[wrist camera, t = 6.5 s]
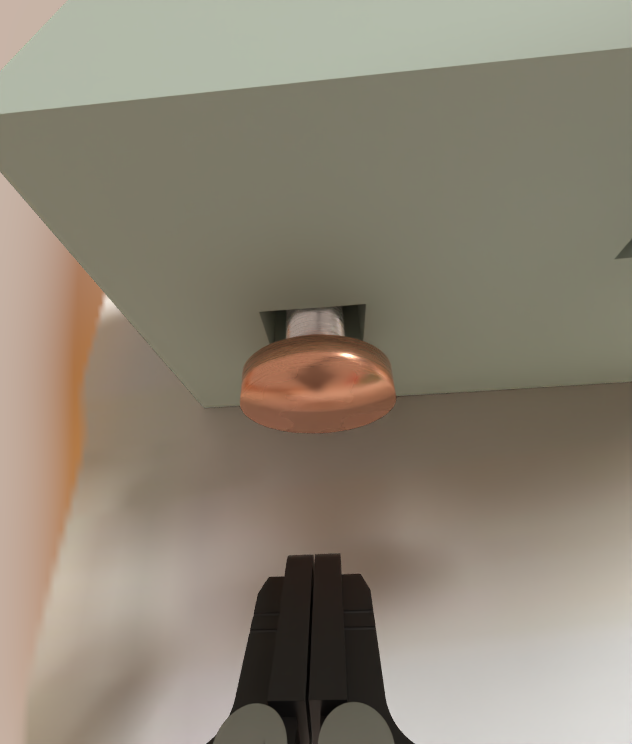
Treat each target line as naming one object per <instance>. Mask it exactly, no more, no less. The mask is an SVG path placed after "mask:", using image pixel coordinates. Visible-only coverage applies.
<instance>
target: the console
mask: <svg viewBox="0 0 632 744" xmlns="http://www.w3.org/2000/svg"><path fill="white" fill-rule="evenodd" d="M0 172H1V173H2V174H3V175H4V177H5V178H6V179H7V180H8V181H9V182H10V184H11V185H12V186H13V187H14V188H15V189H16V191H17V192H18V193H19V194H20V195H21V196H22V198H23V199H24V200H25V201H26V202H27V203H28V204H29V206H30V207H31V208H32V209H33V210H34V212H35V213H36V214H37V215H38V216H39V217H40V218H41V220H42V221H43V222H44V223H45V224H46V225H47V226H48V228H49V229H50V230H51V231H52V232H53V234H54V235H55V236H56V237H57V238H58V239H59V241H60V242H61V243H62V244H63V245H64V246H65V247H66V249H67V250H68V251H69V252H70V253H71V254H72V255H73V257H74V258H75V259H76V260H77V261H78V262H79V264H80V265H81V266H82V267H83V268H84V270H85V271H86V272H87V273H88V274H89V275H90V276H91V278H92V279H93V280H94V281H95V282H96V283H97V285H98V286H99V287H100V288H101V289H102V290H103V292H104V293H105V294H106V295H107V296H108V297H109V299H110V300H111V301H112V302H113V303H114V304H115V306H116V307H117V308H118V309H119V310H120V311H121V312H122V314H123V315H124V316H125V317H126V318H127V319H128V321H129V322H130V323H131V324H132V325H133V326H134V328H135V329H136V330H137V331H138V332H139V333H140V335H141V336H142V337H143V338H144V339H145V340H146V341H147V343H148V344H149V345H150V346H151V347H152V348H153V350H154V351H155V352H156V353H157V354H158V355H159V357H160V358H161V359H162V360H163V361H164V362H165V364H166V365H167V366H168V367H169V368H170V369H171V371H172V372H173V373H174V374H175V375H176V376H177V377H178V379H179V380H180V381H181V382H182V383H183V384H184V386H185V387H186V388H187V389H188V390H189V391H190V393H191V394H192V395H193V396H194V397H195V398H196V400H197V401H198V402H199V403H200V404H201V405H202V406H203V408H213V407H229V406H240V395H241V383H242V372H243V367H244V365H245V363H246V361H247V360H248V359H249V358H250V357H251V356H252V355H253V354H254V353H255V352H257V351H258V350H259V349H261V348H263V347H265V346H267V345H269V344H271V343H274V342H277V341H280V340H283V339H286V310H291V309H305V308H318V307H332V306H342V309H343V320H344V331H345V336H346V337H351V338H355V339H358V340H362V341H365V342H367V343H369V344H371V345H373V346H375V347H377V348H378V349H380V350H381V351H382V352H383V353H384V354H385V355H386V356H387V357H388V359H389V361H390V363H391V369H392V375H393V381H394V387H395V393H396V396H408V395H424V394H440V393H456V392H473V391H489V390H505V389H521V388H538V387H554V386H570V385H586V384H603V383H619V382H632V0H68V1H67V2H66V3H65V4H64V5H63V6H62V7H61V8H60V9H59V10H58V11H57V12H56V13H55V14H54V15H53V16H52V18H50V19H49V20H48V22H47V23H46V24H45V25H44V26H43V27H42V28H41V29H40V30H39V31H38V32H37V33H36V34H35V35H34V36H33V37H32V38H31V39H30V40H29V42H28V43H26V45H25V46H24V47H23V48H22V49H21V50H20V51H19V52H18V53H17V54H16V55H15V56H14V57H13V58H12V59H11V60H10V62H8V63H7V65H5V67H4V68H3V69H2V70H1V71H0Z"/></svg>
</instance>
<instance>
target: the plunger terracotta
mask: <svg viewBox="0 0 632 744" xmlns="http://www.w3.org/2000/svg"><path fill="white" fill-rule="evenodd" d="M395 402H396V393H395V387H394V381H393V375H392V369H391V363H390V361H389V359H388V357H387V356H386V355H385V354H384V353H383V352H382V351H381V350H380V349H378V348H377V347H375V346H373V345H371V344H369V343H367V342H365V341H362V340H358V339H355V338H351V337H346V336H345V331H344V320H343V309H342V306H332V307H318V308H305V309H291V310H286V339H283V340H280V341H277V342H274V343H271V344H269V345H267V346H265V347H263V348H261V349H259V350H258V351H257V352H255V353H254V354H253V355H252V356H251V357H250V358H249V359H248V360H247V361H246V363H245V365H244V367H243V372H242V383H241V395H240V407H241V409H242V411H243V413H244V414H245V415H246V416H247V417H248V418H250V419H251V420H253V421H254V422H256V423H258V424H260V425H263V426H266V427H269V428H272V429H276V430H280V431H286V432H294V433H331V432H339V431H345V430H350V429H354V428H358V427H361V426H364V425H367V424H370V423H372V422H374V421H376V420H378V419H380V418H382V417H383V416H385V415H386V414H387V413H388V412H389V411H390V410H391V409H392V408H393V407H394V405H395Z"/></svg>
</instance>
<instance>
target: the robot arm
mask: <svg viewBox="0 0 632 744" xmlns="http://www.w3.org/2000/svg"><path fill="white" fill-rule="evenodd" d="M207 744H414V743H413V742H412V741H410V740H409V739H408V738H407V737H406V736H405V735H404V734H403V733H402V732H401V731H400V729H399V728H398V727H397V725H396V724H395V722H394V721H393V719H392V717H391V715H390V712H389V709H388V707H387V703H386V698H385V691H384V684H383V677H382V670H381V663H380V656H379V648H378V641H377V634H376V628H375V620H374V613H373V606H372V599H371V591H370V589H369V587H368V585H367V584H366V582H365V581H364V579H363V577H362V576H361V574H344V575H342V573H341V557H340V554H315V563H314V555H288V558H287V563H286V571H285V577H269V578H268V579H267V581H266V582H265V584H264V585H263V587H262V588H261V590H260V591H259V593H258V596H257V601H256V606H255V610H254V617H253V619H252V624H251V628H250V634H249V638H248V642H247V647H246V651H245V656H244V660H243V665H242V670H241V674H240V679H239V683H238V688H237V692H236V697H235V701H234V705H233V708H232V710H231V713H230V715H229V717H228V718H227V719H226V720H225V722H224V723H223V724H222V726H221V727H220V729H219V731H218V733H217V734H216V735H215V737H214V738H212V739H211V740H210V741H209V742H208V743H207Z"/></svg>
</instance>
